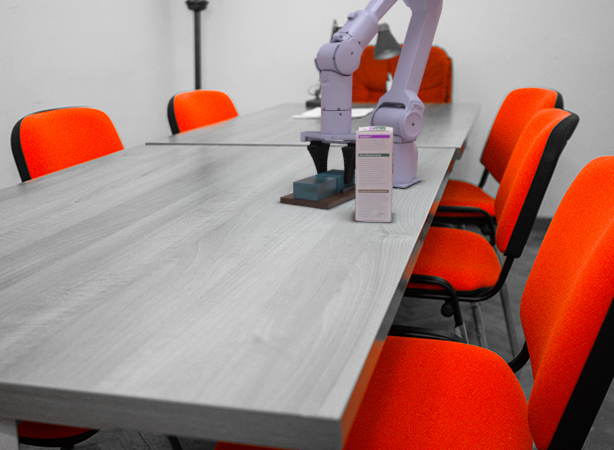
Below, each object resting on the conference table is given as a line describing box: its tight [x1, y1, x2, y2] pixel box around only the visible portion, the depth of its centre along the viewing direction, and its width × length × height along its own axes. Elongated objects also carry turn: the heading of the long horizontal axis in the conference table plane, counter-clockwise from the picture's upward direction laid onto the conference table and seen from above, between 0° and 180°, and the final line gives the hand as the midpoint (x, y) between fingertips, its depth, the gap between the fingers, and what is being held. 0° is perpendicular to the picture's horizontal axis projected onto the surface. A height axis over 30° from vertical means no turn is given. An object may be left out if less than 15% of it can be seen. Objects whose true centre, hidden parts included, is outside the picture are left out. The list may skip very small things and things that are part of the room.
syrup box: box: [354, 125, 394, 223], centre depth 91 cm, size 6×6×14 cm
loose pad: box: [314, 168, 356, 193], centre depth 110 cm, size 7×5×3 cm
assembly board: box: [279, 175, 356, 210], centre depth 107 cm, size 16×10×4 cm, turn 145°
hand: (335, 181), depth 110 cm, fingers closed on loose pad, 5 cm apart
